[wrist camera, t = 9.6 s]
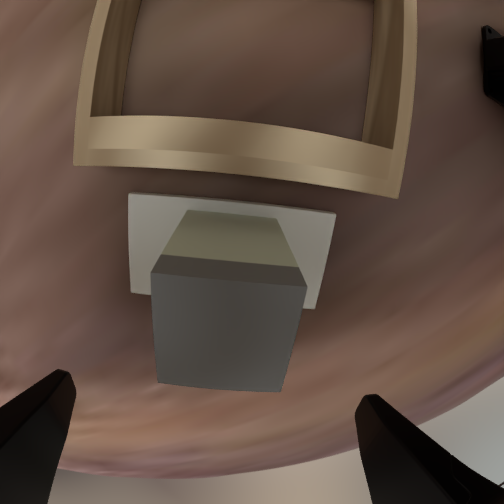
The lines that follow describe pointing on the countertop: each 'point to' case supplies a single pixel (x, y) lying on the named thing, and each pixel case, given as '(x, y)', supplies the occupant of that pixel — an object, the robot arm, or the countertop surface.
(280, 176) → the wooden frame
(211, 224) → the sage box
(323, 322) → the countertop surface
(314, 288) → the grey mat
